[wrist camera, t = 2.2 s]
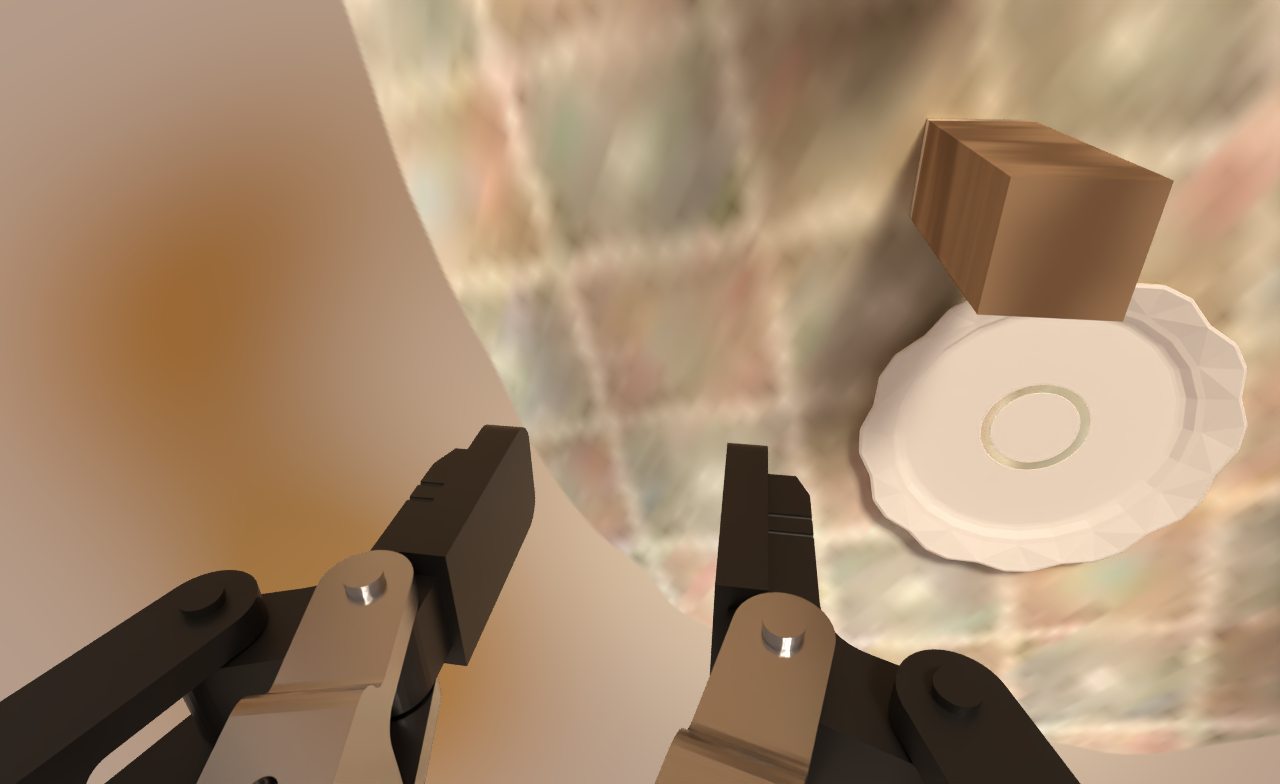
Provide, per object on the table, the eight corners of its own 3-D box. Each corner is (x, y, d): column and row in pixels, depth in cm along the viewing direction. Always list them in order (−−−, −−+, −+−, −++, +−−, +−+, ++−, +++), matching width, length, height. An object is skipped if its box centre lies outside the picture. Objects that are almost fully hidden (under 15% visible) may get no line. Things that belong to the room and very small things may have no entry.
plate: (820, 517, 49) (822, 533, 47) (923, 233, 38) (930, 242, 37) (1121, 582, 47) (1132, 600, 46) (1313, 305, 37) (1335, 317, 35)
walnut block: (909, 216, 38) (976, 314, 26) (926, 118, 35) (1011, 177, 23) (1006, 219, 37) (1122, 321, 25) (1030, 120, 35) (1173, 180, 22)
